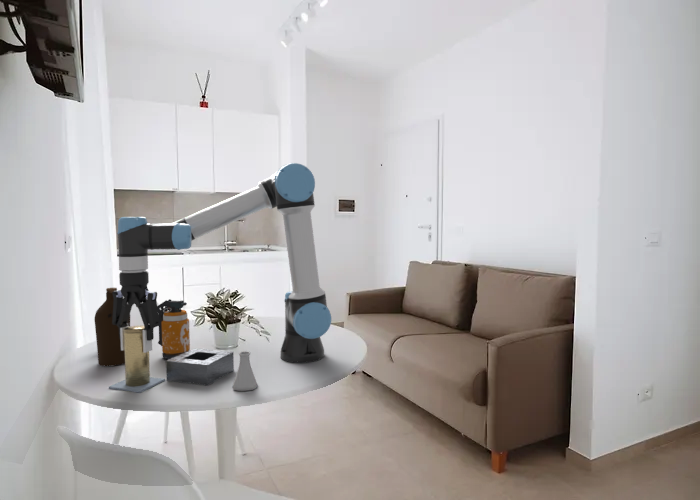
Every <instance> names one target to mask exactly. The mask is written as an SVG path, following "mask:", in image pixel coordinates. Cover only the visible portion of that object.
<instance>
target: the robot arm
mask: <svg viewBox="0 0 700 500" xmlns="http://www.w3.org/2000/svg"><path fill="white" fill-rule="evenodd" d="M315 187H316V181H315V176H314V174H313V172H312V170H310V169H309V168H308V167H307V166H306V165H303V164H301V163H297V162H294V163H293V162H291V163H288V164H284V165H282V166H281V167H280V168H278V170H277V171H276V172H274V173H273V174H272V175H270V177H268V178H266V179H263V180H262V181H259V182H258V184H257V185H256V187H253V188H250V189H248V190H245V191H244V192H241V193H239V194H237V195H235V196H232V197H230V198H227V199H224V200H223V201H220V202H218V203H216V204H213V205H211V206H209V207H206V208H204V209H202V210H199V211H197V212H195V213H192V214H190V215H188V216H185V217H183V218H181V219H179V220H178V219H177V220H176V221H174V222H171V223H148V219H147V218H146V217H145V216H122V217H120V218H119V219H118V222H117V243H118V245H117V247H118V270H119V271H121V272H120V273H119V275H118V277H119V285H120V286H121V289H119V290H118V289H117V291H113V292H112V294H113V299H114V302H113V317H112V324H113V325H117V326H118V327H119V338H121V350H125V343H124V329H125V328H127V327H129V326H126V325H129V324H128V323H127V322H128V319H129V315H130V316H131V311H132V308H133V306H134V305H135V307H136V308H137V310H138V312H139V314H140V317H141V321H142V323H143V326H144V327H145V328H144V329H143V353H146V352H149V353H150V352H151V351H153V340H154V328H156V327H159V325H160V323H159V315H158V308H157V306H158V303H157V298H158V292H157V291H149V289H148V285H149V282H150V281H149V276H150V275H149V271H147V270H148V269H149V257H148V256H149V254H148V252H149V251H150V250H151V251H153V250H154V251H155V250H162V251H163V250H165V251H166V250H177V251H180V250H187V249H188V250H189V249H191V248H192V242H193V241H195V240H197V239H198V238H201V237H203V236H205V235H207V234H210V233H212V232H214V231H217V230H220V229H221V228H224V227H226V226H228V225H230V224H233V223H235V222H238V221H240V220H242V219H245V218H246V217H249V216H251V215H253V214H256V213H258V212H260V211H262V210H265V209H271V210H273V209H274V208H276V210H277V211H278V212H279V213H280V214H281V215H282V218H283V219H282V220H283V224H284V226H283V227H284V235H285V240H286V241H285V242H286V249H287V257H288V265H289V272H290V280H291V287H292V288H291V289H292V290H291V291H287V292H286V293H285V294H284V295H285V296H284V300H283V301H284V312H285V313H284V328H285V329H284V330H285V332H284V335H285V336H284V339H283V341H282V344H281V348H280V359H281V360H283V361H285V362H289V363H300V364H301V363H311V362H316V360H317V361H319V359H320V360H322V359H324V357H325V348H324V345H323V341H322V339H321V337H322V336H323V335H326V333H327V332H328V331H329V330H330V327H331V325H332V314H331V311H330V310H329V308H328V305H327V304H328V303H327V297H326V296H327V295H326V291H325V290H324V289H323V288H321V285H320V277H319V271H318V260H317V254H316V246H315V237H314V228H313V223H312V222H313V221H312V210H313V209H314V208H315V206H316V205H315V197H314V192H315Z"/></svg>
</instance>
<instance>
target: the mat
mask: <svg viewBox="0 0 700 500" xmlns="http://www.w3.org/2000/svg"><path fill="white" fill-rule="evenodd" d="M165 381H166V378H162V377H151V376H150V382H149V383H147V384H145V385H142V386H135V387H131V386H127V385H126V382H125V379H123V380H121V381H118V382H116V383H114V384H112V385H109V386H108V389H111V390H119V391H127V392H134V393H142V392H144V391H146V390H149V389H151V388H154V387H156V386H157V385H158V384H159V385H160V384H161V383H163V382H165Z"/></svg>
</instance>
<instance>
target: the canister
mask: <svg viewBox="0 0 700 500" xmlns="http://www.w3.org/2000/svg"><path fill="white" fill-rule="evenodd" d="M185 306H187V302H184V300H172V299H171V298H170V299H168V300H167V299H166V300H164V301H162V302H161V303H160V304H159V305H158V304H157V308H158V315H159V323H160V325H159V326H158V342H157V344H158V345H160V347H161V351H162V353H161V354H162V358H164V359H167V360H169V359H171V358H174V357H176V356H178V355H181V354H183V353H185V352H188V351H190V350H191V344H190V342H191V339H190V335H191V334H190V333H191V332H190V319H189V318H188V312H187V310H185V309H183V308H184V307H185Z"/></svg>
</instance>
